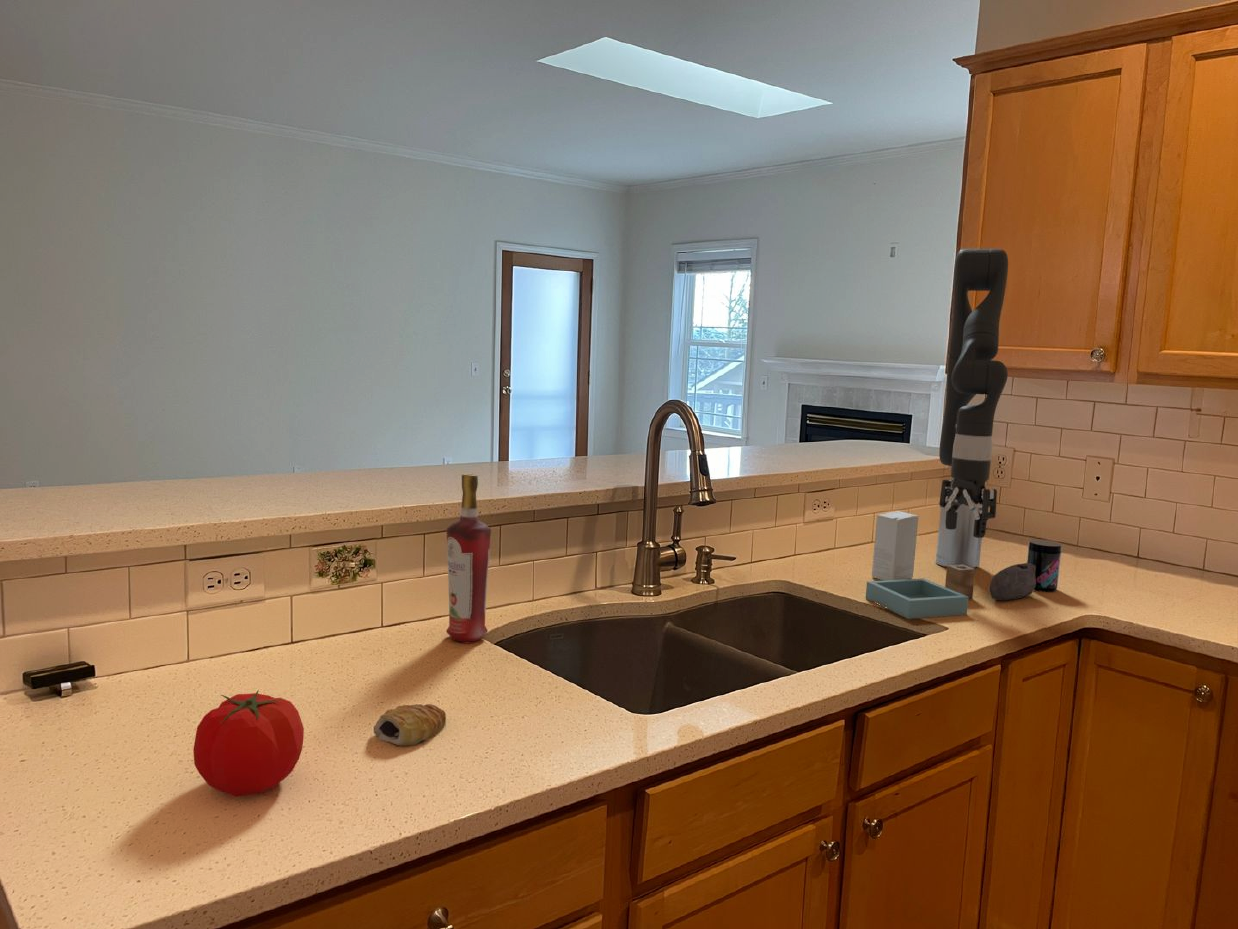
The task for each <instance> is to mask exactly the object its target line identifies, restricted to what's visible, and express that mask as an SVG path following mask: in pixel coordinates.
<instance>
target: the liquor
mask: <svg viewBox="0 0 1238 929" xmlns="http://www.w3.org/2000/svg"><path fill="white" fill-rule="evenodd" d="M478 483H479V475H478V474H477V473H464V474H461V489H462V490H461V491H462V495H461V497H462V498H461V506H460V516H459V520H458V521H455V522H453V523H452V524H450V525H449V526H448V527H447V528H446V556H447V558H446V559H447V560H446V561H447V576H448V578H447V581H448V616H449V617H448V621H449V622H448V627H447V629H446V634H448V635H449V637H451V638H452V639H453V640H454V641H455V640H456V642H458V641H459V642H458V643H463V642H470V643H474V642H475V641H476V642H478V641H480V640H481V639H482V638H483V637H484V636H485V635H486V634H487V633H488V628H487V626H486V613H487V612H486V608H487V607H486V606H487V593H488V592H487V590H488V588H487V587H488V577H489V576H488V575H489V568H490V567H489V564H490V552H491V550H490V549H491V536H492V535H491V534H492V533H491V532H492V528H490V527H489V526H488V525H487V524H486V523H484V522H482V521H480V520H479V518H478V517H479V515H478V502H477V501H478V500H477V491H478V486H479V484H478Z"/></svg>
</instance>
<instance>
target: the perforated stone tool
mask: <svg viewBox="0 0 1238 929" xmlns="http://www.w3.org/2000/svg"><path fill="white" fill-rule="evenodd" d="M1035 570H1036V566H1035V565H1033V564H1031V563H1027V562H1026V563H1025V562H1024V563H1019V564H1018V563H1017V564H1013V565H1010V566H1008V567H1004V568H1003V569H1001V570H1000V571H998V572H997V573H996V574H995V575H993V577H992V578H991V580H990V582H989V589H988V590H989V594H990V596H991V598H993V599H994V600H996V601H1010V600H1012V601H1013V600H1016V599H1017V600H1018V599H1022V598H1024V597H1026V596H1029V595H1031V594H1032V593H1033V592H1034V591H1035V590H1034V588H1035V586H1036V578H1035ZM1008 599H1009V600H1008Z"/></svg>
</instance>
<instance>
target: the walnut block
mask: <svg viewBox="0 0 1238 929" xmlns="http://www.w3.org/2000/svg"><path fill="white" fill-rule="evenodd" d="M945 573H946V574H945V581H944V582H945V584H944V587H946V588H948V589H951V590H953V591H956V592H958V593H961V594H963V595H965V596H968V597H969V600H973V599H974V589H975V578H976V576H975V575H976V568H971V567H968V566H965V565H947V567H946V572H945Z"/></svg>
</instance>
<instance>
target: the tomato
mask: <svg viewBox="0 0 1238 929" xmlns="http://www.w3.org/2000/svg"><path fill="white" fill-rule="evenodd" d="M259 690H260V689H259ZM259 690H256V692H255V693H238V694H235V695H233V696H230V697H228V696H226V695H225V694H220V696H221V697H223V698H225V700H224V701H222V702H221V703H220V704H219V706H218V707H216V708H214V709H210V711H209V712H207V713H206V714H204V715H203V717H202V719H201V720H200V722H199V724H198V725H197V727H196V732H195V738H194V744H193V762H194V763H193V764H194V765H193V766H195V768H196V770H197V772H198V774H199V775H200V776H201V777H202V779H203V780H204V781H205V782H206V783H207V785H208V786H210V787H211V788H212V789H214V790H216V791H218V792H221V793H224V794H225V795H230V796H233V797H235V798H238V797H244V796H250V795H252V796H253V795H256V794H257V795H258V794H262V793H263V792H265V791H267V790H270V789H272V788H275V787H276V786H277V785H279V784H280V783H281V782H282V781H283V780H285V779H286V778H287V777H288V776H289V775H290V774H291V773H292V772H293V771H294V769H295V768H296V765H297V763H299V762H298V761H299V760H300V757H301V753H302V751H303V744H304V734H305V732H304V731H305V727H304V724H303V721H302V718H301V716H300V713H299V712H300V711H299V710H298V709H297V708H296V707H295V705H294V704H293V702H292V701H290V700H287V699H286V698H284V697H283V698H282V697H273V696H271V695H269V694H268V695H267V694H261V693H259Z"/></svg>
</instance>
